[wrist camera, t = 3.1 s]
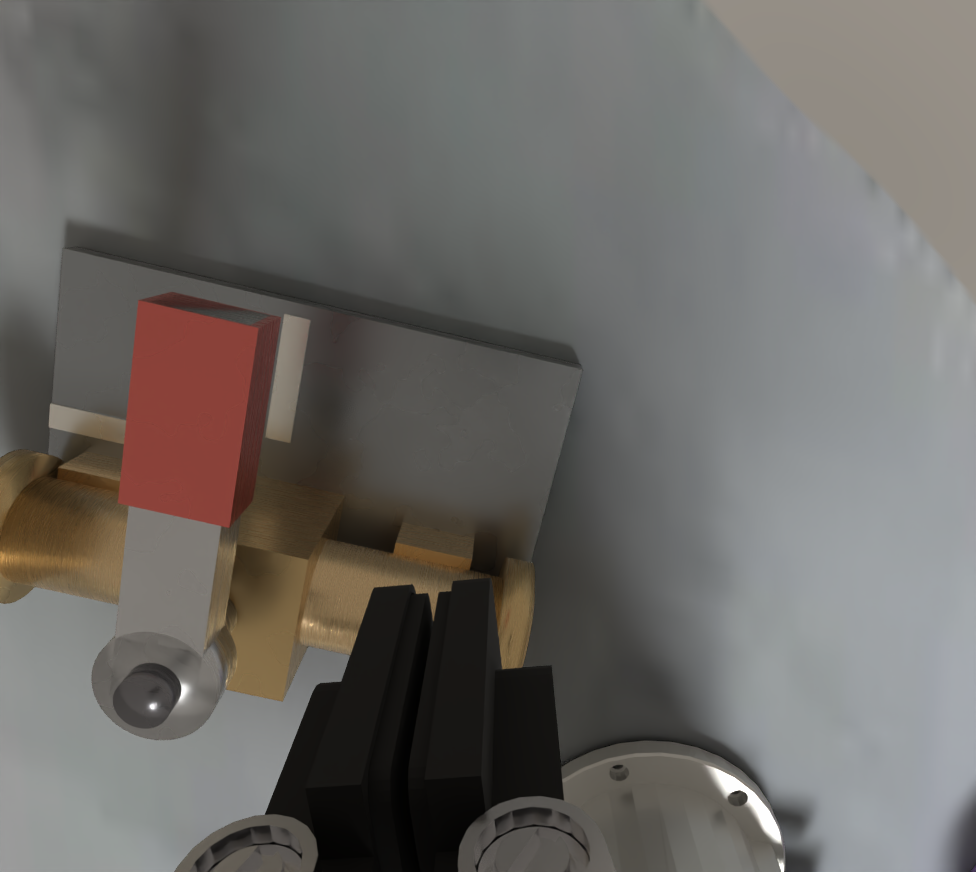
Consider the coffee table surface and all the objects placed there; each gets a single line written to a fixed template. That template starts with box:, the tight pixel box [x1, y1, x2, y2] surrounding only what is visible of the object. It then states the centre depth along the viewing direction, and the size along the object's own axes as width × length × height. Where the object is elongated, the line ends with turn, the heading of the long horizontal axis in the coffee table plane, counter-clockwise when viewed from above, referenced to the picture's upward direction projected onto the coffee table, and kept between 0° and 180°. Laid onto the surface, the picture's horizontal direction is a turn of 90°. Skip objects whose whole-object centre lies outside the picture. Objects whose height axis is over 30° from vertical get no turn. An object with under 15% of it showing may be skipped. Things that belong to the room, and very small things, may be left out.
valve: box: [0, 247, 583, 702], centre depth 28 cm, size 20×14×9 cm
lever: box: [92, 292, 281, 740], centre depth 22 cm, size 4×13×3 cm, turn 167°
